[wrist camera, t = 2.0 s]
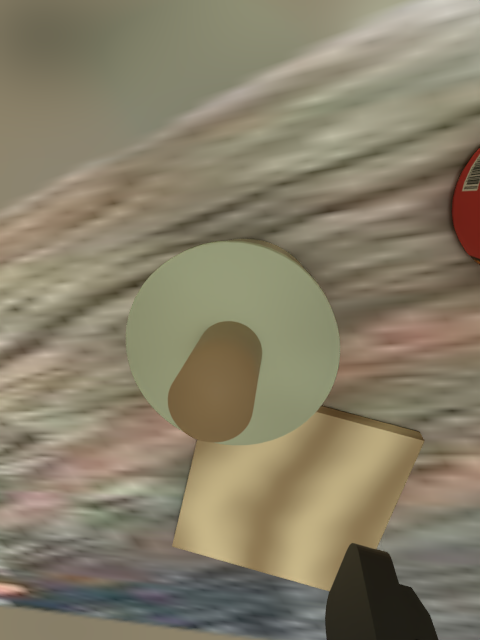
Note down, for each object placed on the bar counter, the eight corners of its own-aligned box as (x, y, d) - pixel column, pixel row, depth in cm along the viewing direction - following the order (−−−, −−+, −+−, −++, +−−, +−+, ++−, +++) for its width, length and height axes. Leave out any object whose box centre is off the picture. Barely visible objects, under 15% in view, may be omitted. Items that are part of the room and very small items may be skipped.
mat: (419, 432, 26) (424, 440, 25) (352, 585, 31) (354, 598, 30) (213, 377, 27) (210, 383, 26) (175, 535, 31) (172, 546, 30)
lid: (366, 271, 18) (403, 306, 12) (304, 455, 21) (310, 552, 15) (150, 216, 18) (88, 225, 13) (120, 405, 21) (59, 481, 16)
